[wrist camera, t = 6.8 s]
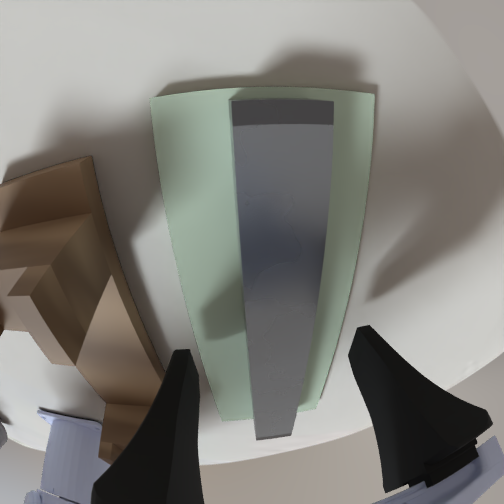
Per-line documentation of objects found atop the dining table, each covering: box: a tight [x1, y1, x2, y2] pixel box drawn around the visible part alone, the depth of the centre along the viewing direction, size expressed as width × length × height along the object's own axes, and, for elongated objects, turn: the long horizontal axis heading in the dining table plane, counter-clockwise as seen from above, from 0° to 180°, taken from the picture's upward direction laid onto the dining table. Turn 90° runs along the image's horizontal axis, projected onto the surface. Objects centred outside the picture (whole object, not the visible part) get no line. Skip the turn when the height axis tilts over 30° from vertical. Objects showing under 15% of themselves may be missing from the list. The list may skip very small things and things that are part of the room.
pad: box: [150, 87, 375, 421], centre depth 13 cm, size 20×7×1 cm, turn 2°
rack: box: [0, 156, 166, 465], centre depth 11 cm, size 19×5×5 cm, turn 2°
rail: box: [228, 98, 334, 440], centre depth 12 cm, size 19×2×2 cm, turn 2°
